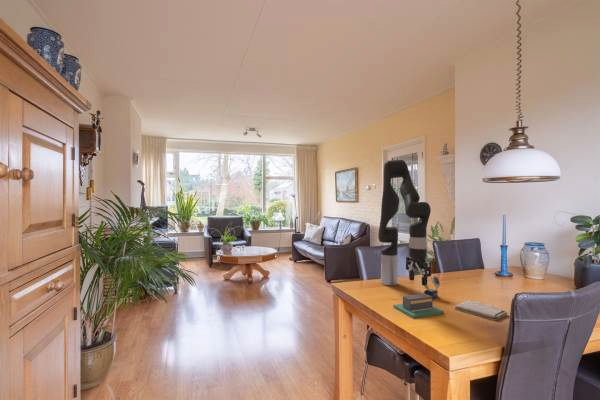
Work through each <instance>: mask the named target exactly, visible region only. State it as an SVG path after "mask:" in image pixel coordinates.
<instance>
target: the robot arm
mask: <svg viewBox="0 0 600 400" xmlns="http://www.w3.org/2000/svg"><path fill="white" fill-rule="evenodd" d="M382 176H383V177H382V178H383V182H382V184H383V186H382V187H383V188H382V198H381V205H380V206H381V207H380V210H381V211H380V212H381V213H380V221H379V227H378V236H377V237H378V241H379V242H380V243H384V244H385V243H389V245H388V246H386V247H384V248H382V249H381V250H380V261H381V264H380V265H381V266H380V283H381V285H384V286H398V285H399V283H398V282H399V279H398V278H399V274H398V272H399V271H398V268H399V267H398V265H399V263H398V260H399V259H398V256H399V255H398V254H399V253H398V246H399V245H398V244H399V243H398V242H399V229H398V228H397V227H396V226H388V225H389V222H390V221H391V220H392V219H393V218H394V216H395V215H397V213H398V211H399V207H400V197H399V195H398V193H397V192H396V190H395V188H394V187H393V185H392V179H397V178H402V181H401V183H400V186H399V193H400V195H401V197H402V199H403V201H404V202H403V203H404V211H405V214H406V216H407V217H408V218H411V219H418V221H416V222H414V223H413V222H412V223H411V224H409V238H408V239H409V240H408V256H406V258H405V270H407V271H408V278H409V281H414V280H415V271H416V270H417V271H418V272H419V273H420V274H421V285H422V286H426V285H428V278H429V277H431V275H432V263H431V262H430V261H429V262H427V261H426V259H427V258H428V240H427V227H428V223H429V219H430V216H431V210H432V209H431V206H430V204H429V203H428V202H427V201H420V195H419V193H418V191H417V189H416V187H415V185H414V183H413V179H412V177H411V174H410V170H409V167H408V165H407V163H406V161H405V160H403V159H392V160H386V161H384V163H383V175H382Z"/></svg>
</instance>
